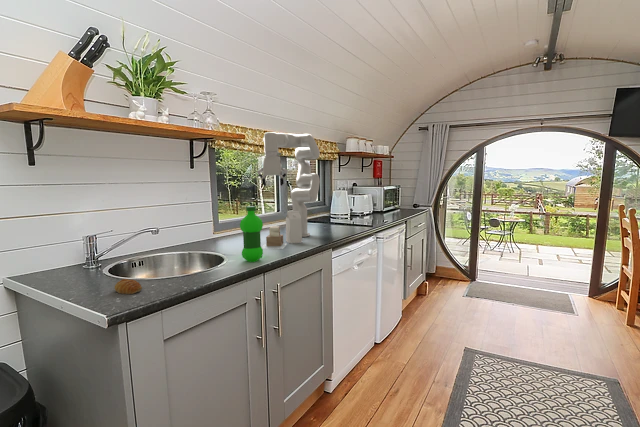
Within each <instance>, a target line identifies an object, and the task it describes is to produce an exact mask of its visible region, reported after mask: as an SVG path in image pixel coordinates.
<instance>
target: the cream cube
mask: <svg viewBox="0 0 640 427" xmlns="http://www.w3.org/2000/svg"><path fill="white" fill-rule="evenodd" d="M268 230H269V235H270V237H279V236H280V235H281V226H279V225H276V226H275V225H274V226H272V225H271V226H270V227H269V229H268Z"/></svg>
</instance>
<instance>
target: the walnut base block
mask: <svg viewBox="0 0 640 427" xmlns="http://www.w3.org/2000/svg"><path fill="white" fill-rule="evenodd" d="M265 241H266V246H281V245H282V244H283V243H284V234H280V236H279V237H270V234H267V236H266V237H265Z"/></svg>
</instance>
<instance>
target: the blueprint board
mask: <svg viewBox="0 0 640 427" xmlns="http://www.w3.org/2000/svg"><path fill="white" fill-rule="evenodd" d="M288 244H289V243H288V242H287V243H286V242H283V244H282V245H281V246H266V243H264V244H262V245H261V247H262V249H263V250H278V249H279V250H284V249H285V247H286V246H287V245H288Z"/></svg>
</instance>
